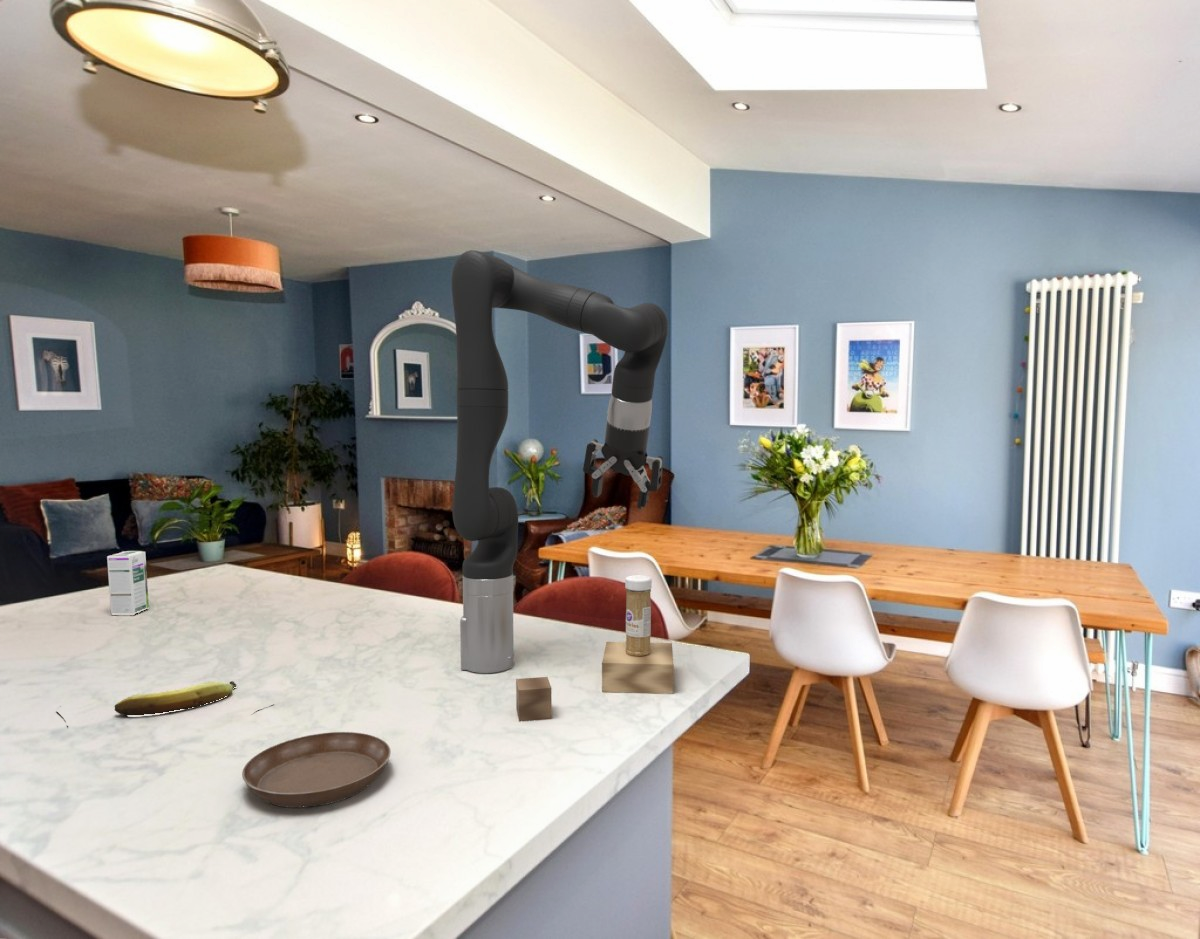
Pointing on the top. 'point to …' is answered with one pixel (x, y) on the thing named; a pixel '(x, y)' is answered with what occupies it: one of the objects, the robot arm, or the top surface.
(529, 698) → the walnut cube
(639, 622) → the sprinkles bottle
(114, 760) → the top surface
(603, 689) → the oak block
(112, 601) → the syrup box
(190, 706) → the banana
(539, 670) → the top surface
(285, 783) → the plant saucer
